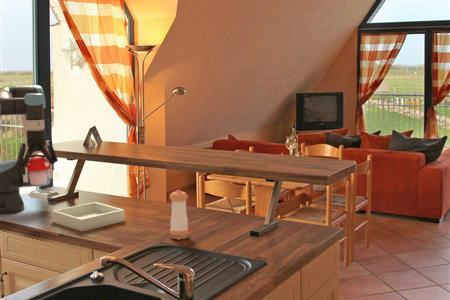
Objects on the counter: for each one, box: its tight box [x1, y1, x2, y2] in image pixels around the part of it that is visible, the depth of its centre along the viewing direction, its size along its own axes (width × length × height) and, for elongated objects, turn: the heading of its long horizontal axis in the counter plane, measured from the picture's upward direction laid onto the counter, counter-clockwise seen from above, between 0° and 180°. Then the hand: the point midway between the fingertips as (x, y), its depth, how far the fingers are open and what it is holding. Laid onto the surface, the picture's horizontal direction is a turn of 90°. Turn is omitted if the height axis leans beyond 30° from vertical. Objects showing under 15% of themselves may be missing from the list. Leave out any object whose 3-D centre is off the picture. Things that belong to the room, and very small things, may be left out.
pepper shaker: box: [169, 189, 190, 235], centre depth 226 cm, size 7×7×19 cm
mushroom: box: [25, 156, 50, 185], centre depth 251 cm, size 11×11×12 cm
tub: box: [51, 201, 126, 232], centre depth 252 cm, size 22×22×5 cm
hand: (38, 180), depth 251 cm, fingers closed on mushroom, 11 cm apart
